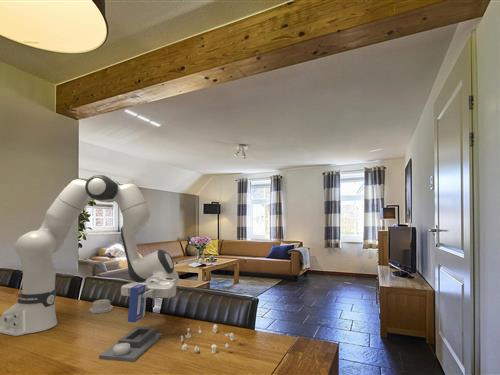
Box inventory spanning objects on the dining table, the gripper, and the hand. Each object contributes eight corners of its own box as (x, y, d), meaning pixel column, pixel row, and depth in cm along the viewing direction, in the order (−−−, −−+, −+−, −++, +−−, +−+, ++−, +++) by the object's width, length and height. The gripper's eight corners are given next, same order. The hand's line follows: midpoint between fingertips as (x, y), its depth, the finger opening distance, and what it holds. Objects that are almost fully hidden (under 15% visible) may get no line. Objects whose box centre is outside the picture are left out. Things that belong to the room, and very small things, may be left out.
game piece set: (202, 328, 123) (202, 318, 123) (244, 339, 113) (244, 328, 113) (166, 346, 106) (167, 335, 106) (212, 361, 96) (212, 348, 96)
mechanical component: (84, 313, 141) (103, 314, 139) (85, 303, 141) (104, 304, 139) (99, 306, 150) (117, 308, 148) (99, 297, 151) (117, 298, 149)
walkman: (135, 322, 105) (138, 287, 106) (127, 321, 105) (130, 286, 107) (145, 315, 113) (148, 282, 114) (138, 314, 113) (141, 281, 114)
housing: (98, 358, 96) (99, 348, 97) (132, 334, 116) (132, 325, 116) (133, 361, 95) (134, 351, 95) (162, 336, 114) (162, 327, 114)
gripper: (132, 277, 124) (111, 285, 111) (179, 279, 121) (164, 287, 108) (131, 293, 124) (111, 303, 110) (179, 295, 121) (164, 306, 107)
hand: (138, 295), depth 109 cm, fingers closed on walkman, 2 cm apart
